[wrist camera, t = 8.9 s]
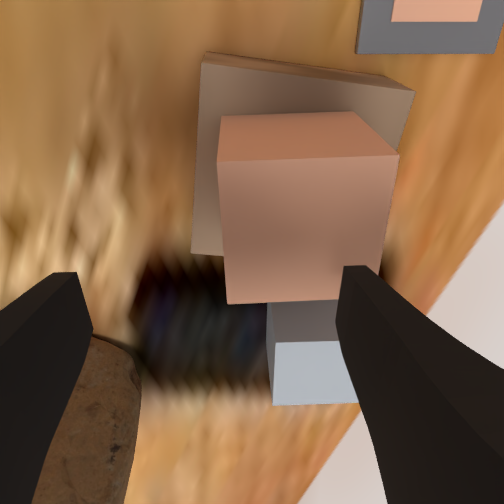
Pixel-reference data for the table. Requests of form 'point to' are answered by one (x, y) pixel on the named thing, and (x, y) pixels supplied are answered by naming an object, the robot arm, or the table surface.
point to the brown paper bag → (95, 433)
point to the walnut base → (279, 102)
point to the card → (429, 26)
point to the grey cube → (306, 354)
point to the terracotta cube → (300, 203)
